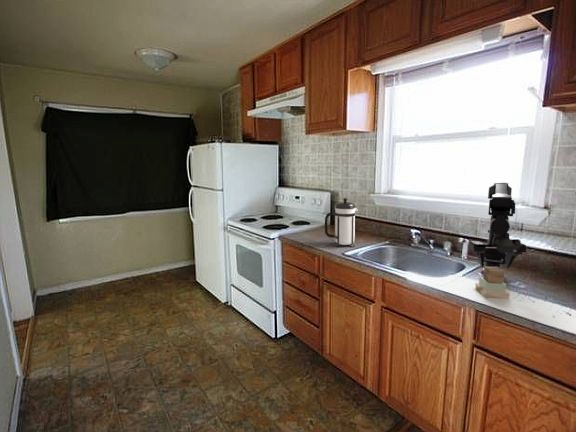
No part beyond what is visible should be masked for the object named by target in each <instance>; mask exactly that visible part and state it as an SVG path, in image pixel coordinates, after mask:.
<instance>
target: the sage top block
mask: <svg viewBox="0 0 576 432" xmlns="http://www.w3.org/2000/svg"><path fill="white" fill-rule="evenodd" d="M478 283H479V284H480V285H481V286H482V287H483V289H484V290H486V291H500V292H506V290H507V283H505V282H504V281H503V283H489V282H487V281H486V280H485V279H483V276H479V281H478Z"/></svg>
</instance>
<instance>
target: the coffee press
mask: <svg viewBox="0 0 576 432" xmlns="http://www.w3.org/2000/svg"><path fill="white" fill-rule="evenodd" d="M347 200H348V199H347V198H346V197H344V198H343V201H338V202H336V204H335V206H334V208H335V209H334V210H335V212H333V211H331V212H327V214H326V215H325V217H324V233H325V235H326V237H328V238H334V242H335V244H336V245H335V247H336V248H339V247H340V246H347V245H349V246H351V248H354V247H355V243H354V242H355V232H356V231H355V228H356V226H355V223H356V218H355V217H356V212H358V211H359V210H358V208H357V207H356V205H355V203H354V202H353V201H352V202H351V201H347ZM330 216H335V217H334V218H335V219H334V221H335V222H334V229H335V230H334V234H330V233H329V232H328V222H329V221H328V219H329V217H330Z"/></svg>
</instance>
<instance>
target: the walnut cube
mask: <svg viewBox="0 0 576 432" xmlns="http://www.w3.org/2000/svg"><path fill="white" fill-rule="evenodd" d="M483 271H484V274H483V276H482V277H483V279H485V280H486V281H487V282H489V283H503V282H504V279H505V270H504V269H501V268H499V267H486V266H485V265H484V266H483Z"/></svg>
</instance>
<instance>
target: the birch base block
mask: <svg viewBox="0 0 576 432" xmlns="http://www.w3.org/2000/svg"><path fill="white" fill-rule="evenodd" d="M474 289H475V290H476V291H477V292H478V293H479V294H480V295H482V297H483V298H485V299H508V300H509V299H510V291H508V290H507V289H506V292H500V291H486V290H484V289H483V287H482V286H481V285H480V284H479V282H478V283H475V288H474Z"/></svg>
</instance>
